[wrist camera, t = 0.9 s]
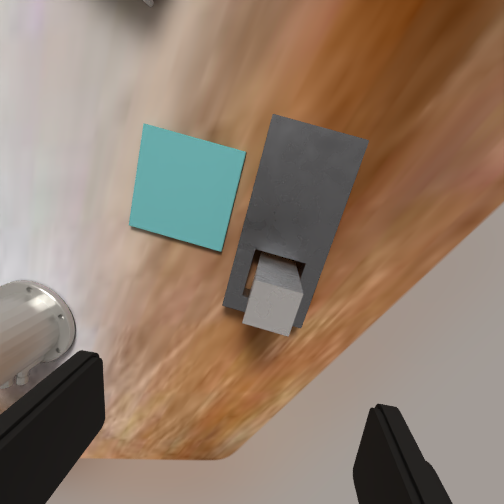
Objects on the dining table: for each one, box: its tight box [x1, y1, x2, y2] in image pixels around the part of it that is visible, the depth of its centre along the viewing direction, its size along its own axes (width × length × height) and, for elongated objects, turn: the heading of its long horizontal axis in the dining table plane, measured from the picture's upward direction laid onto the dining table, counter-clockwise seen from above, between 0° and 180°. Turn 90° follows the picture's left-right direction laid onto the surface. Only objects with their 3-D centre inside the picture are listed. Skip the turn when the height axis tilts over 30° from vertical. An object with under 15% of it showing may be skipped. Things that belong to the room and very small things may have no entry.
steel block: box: [242, 252, 303, 337], centre depth 28 cm, size 4×4×10 cm
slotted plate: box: [222, 114, 369, 328], centre depth 30 cm, size 22×10×2 cm, turn 165°
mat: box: [129, 124, 246, 252], centre depth 31 cm, size 12×12×1 cm
